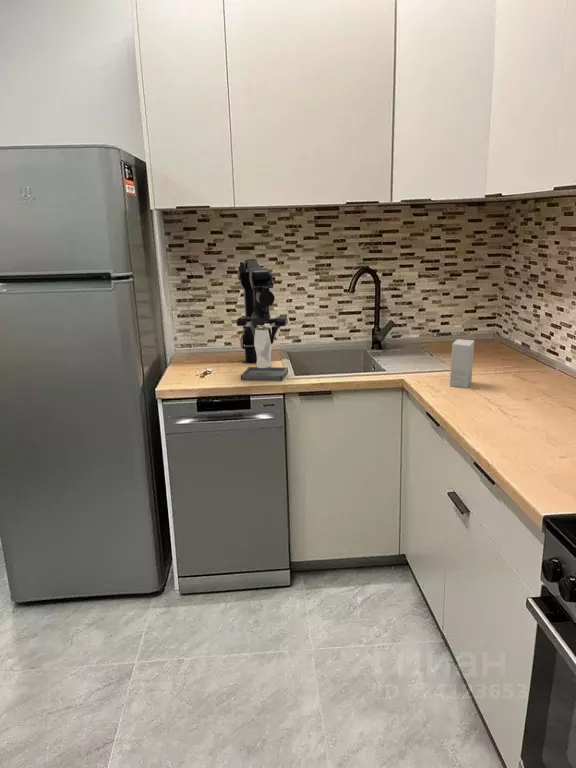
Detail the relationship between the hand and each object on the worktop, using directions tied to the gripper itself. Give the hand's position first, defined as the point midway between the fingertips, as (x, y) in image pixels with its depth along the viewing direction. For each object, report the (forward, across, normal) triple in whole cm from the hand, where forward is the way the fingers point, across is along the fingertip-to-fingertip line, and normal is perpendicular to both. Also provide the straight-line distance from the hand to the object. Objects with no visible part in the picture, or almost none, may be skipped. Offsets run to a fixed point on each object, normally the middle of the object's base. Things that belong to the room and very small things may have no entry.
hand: (263, 343), depth 225 cm
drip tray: (+13, 0, 0) cm, 13 cm away
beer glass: (+9, 0, 0) cm, 9 cm away
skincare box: (+13, +73, -6) cm, 75 cm away
